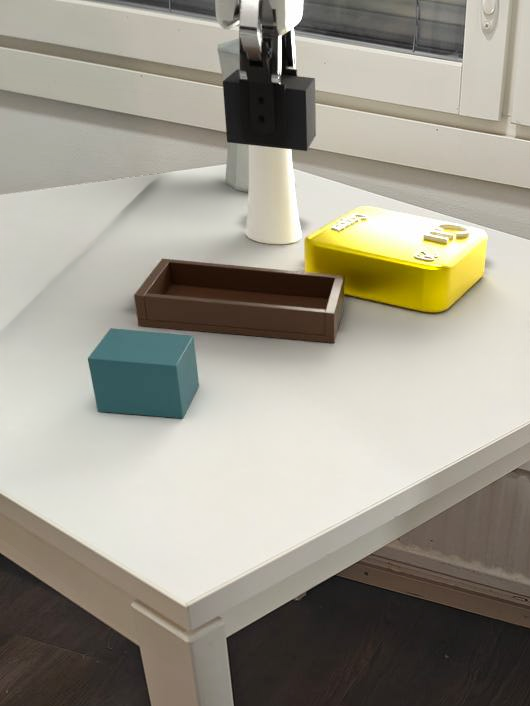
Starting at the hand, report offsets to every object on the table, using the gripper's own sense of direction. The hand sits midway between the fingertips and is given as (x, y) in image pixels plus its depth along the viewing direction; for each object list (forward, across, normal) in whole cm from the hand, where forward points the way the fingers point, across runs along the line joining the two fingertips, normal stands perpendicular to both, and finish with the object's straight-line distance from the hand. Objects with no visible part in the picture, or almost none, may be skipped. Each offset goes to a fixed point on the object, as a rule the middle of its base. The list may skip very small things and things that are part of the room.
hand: (271, 131), depth 69 cm
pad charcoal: (0, 0, 0) cm, 1 cm away
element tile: (+15, -15, +10) cm, 24 cm away
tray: (+15, -2, -3) cm, 16 cm away
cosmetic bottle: (+15, -25, -4) cm, 30 cm away
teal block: (+15, +16, -7) cm, 23 cm away
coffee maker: (+15, -44, -9) cm, 47 cm away
